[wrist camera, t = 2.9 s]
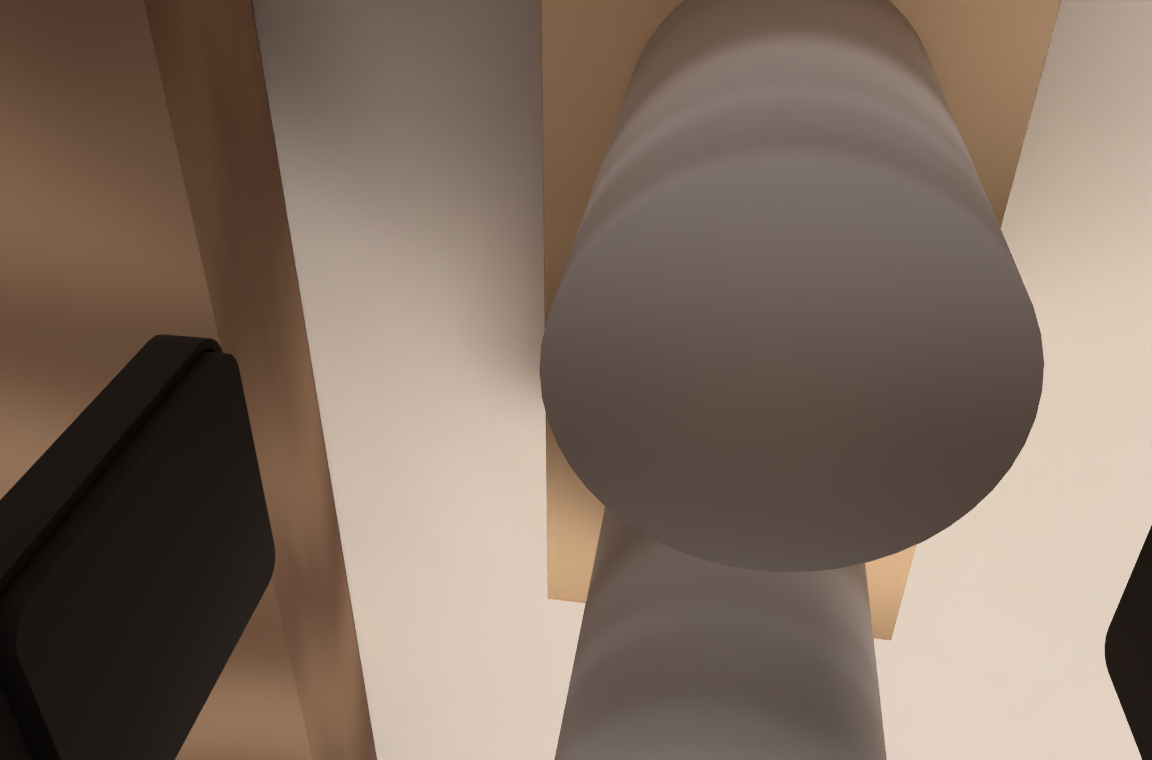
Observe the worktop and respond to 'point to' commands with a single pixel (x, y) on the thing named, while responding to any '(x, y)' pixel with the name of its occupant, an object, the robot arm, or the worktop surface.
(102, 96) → the walnut shelf
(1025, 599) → the worktop surface
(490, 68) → the worktop surface
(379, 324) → the worktop surface
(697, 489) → the salt and pepper set
